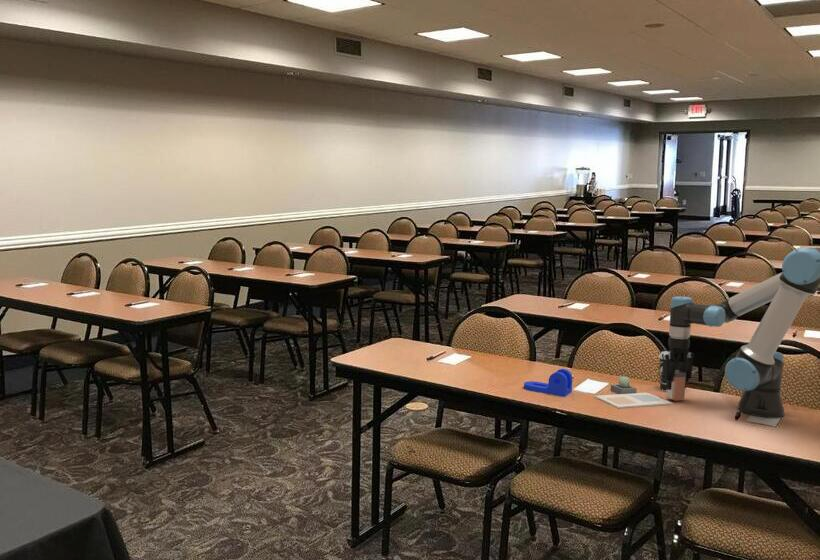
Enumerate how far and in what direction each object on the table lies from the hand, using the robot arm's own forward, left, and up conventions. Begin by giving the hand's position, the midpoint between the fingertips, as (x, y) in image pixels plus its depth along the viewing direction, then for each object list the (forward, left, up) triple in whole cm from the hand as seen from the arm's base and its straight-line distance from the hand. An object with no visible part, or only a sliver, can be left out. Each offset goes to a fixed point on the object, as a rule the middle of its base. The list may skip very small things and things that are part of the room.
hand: (675, 397), depth 265 cm
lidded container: (0, 0, -1) cm, 1 cm away
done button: (+14, +13, +1) cm, 20 cm away
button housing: (+14, +13, -1) cm, 20 cm away
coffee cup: (+14, -9, -1) cm, 17 cm away
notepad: (+3, +17, -1) cm, 17 cm away
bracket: (+23, +43, -2) cm, 49 cm away
